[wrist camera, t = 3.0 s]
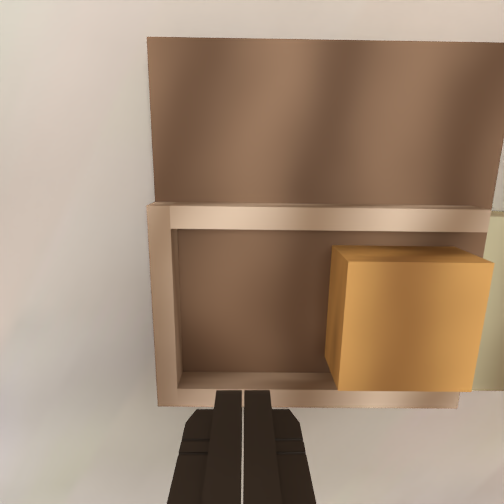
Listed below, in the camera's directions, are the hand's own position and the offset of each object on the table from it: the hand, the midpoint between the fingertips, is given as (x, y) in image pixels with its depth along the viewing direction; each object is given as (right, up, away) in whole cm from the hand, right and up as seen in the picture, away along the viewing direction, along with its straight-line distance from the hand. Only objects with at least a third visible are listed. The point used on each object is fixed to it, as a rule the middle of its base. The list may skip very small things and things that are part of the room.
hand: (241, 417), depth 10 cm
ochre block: (+7, +2, +8) cm, 11 cm away
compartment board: (+8, +6, +9) cm, 13 cm away
